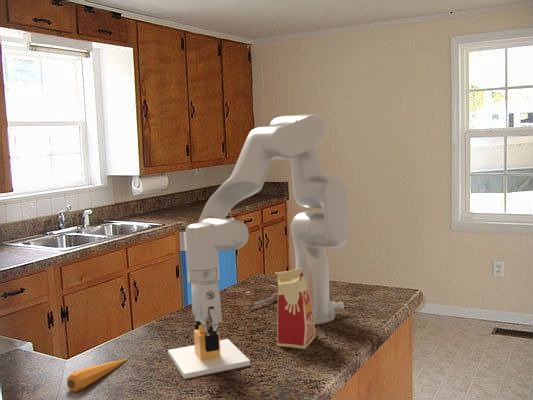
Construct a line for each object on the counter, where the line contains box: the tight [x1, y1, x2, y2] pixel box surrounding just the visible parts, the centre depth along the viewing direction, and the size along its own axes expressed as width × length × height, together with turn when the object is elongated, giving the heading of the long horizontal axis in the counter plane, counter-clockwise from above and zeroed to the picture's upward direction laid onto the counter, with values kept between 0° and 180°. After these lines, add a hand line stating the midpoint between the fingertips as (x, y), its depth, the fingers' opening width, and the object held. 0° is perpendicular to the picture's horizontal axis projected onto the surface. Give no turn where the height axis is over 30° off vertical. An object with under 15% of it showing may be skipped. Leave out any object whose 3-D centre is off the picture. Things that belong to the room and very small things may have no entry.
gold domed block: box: [193, 324, 221, 361], centre depth 138 cm, size 5×5×8 cm
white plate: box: [167, 338, 251, 380], centre depth 138 cm, size 16×16×6 cm
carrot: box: [66, 358, 129, 393], centre depth 132 cm, size 20×4×4 cm, turn 156°
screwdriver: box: [245, 292, 278, 309], centre depth 184 cm, size 25×3×3 cm, turn 138°
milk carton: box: [274, 267, 316, 350], centre depth 147 cm, size 9×9×20 cm
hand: (207, 344), depth 138 cm, fingers open, 8 cm apart
